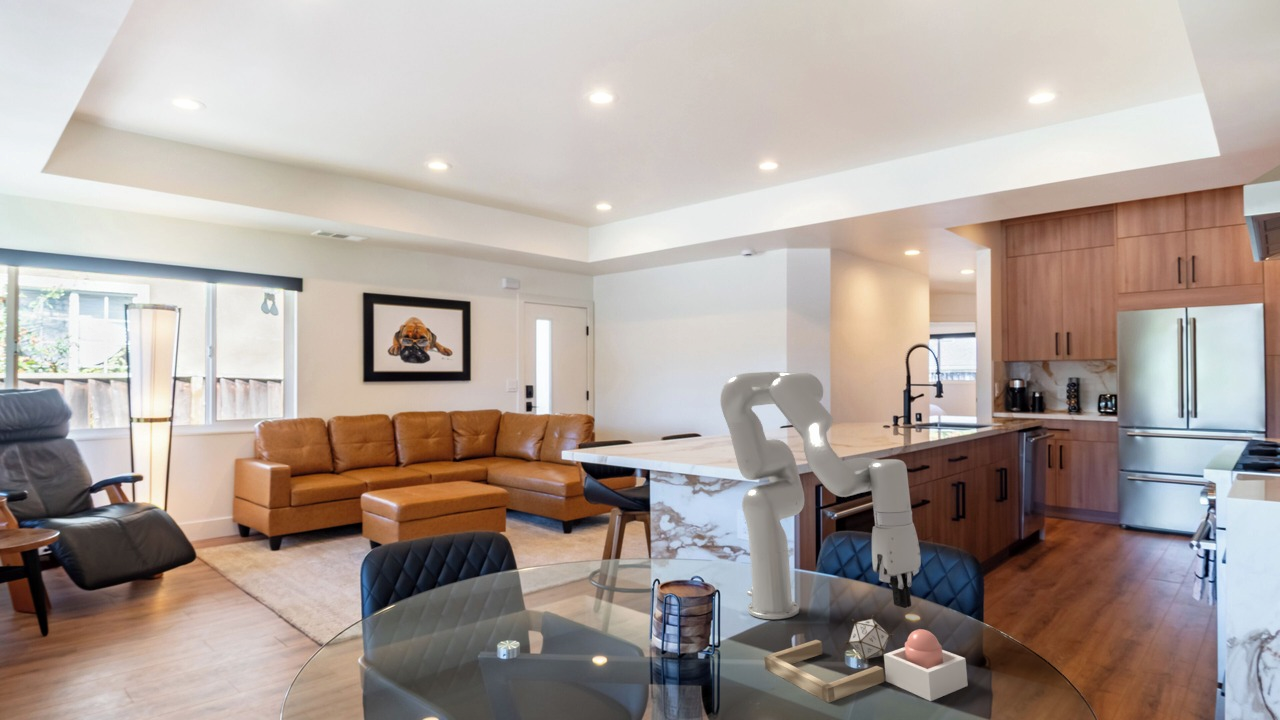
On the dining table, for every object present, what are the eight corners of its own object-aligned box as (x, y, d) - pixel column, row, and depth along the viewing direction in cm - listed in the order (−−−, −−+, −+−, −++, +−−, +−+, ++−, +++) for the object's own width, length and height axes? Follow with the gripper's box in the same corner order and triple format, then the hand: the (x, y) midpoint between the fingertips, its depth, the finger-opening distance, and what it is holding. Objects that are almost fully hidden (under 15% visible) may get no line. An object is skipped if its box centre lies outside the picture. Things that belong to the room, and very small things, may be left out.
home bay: (765, 668, 137) (764, 656, 137) (817, 651, 144) (816, 639, 144) (828, 702, 121) (827, 688, 121) (884, 681, 128) (883, 668, 128)
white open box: (886, 681, 128) (883, 654, 128) (922, 667, 133) (920, 641, 133) (930, 701, 119) (928, 672, 120) (967, 685, 124) (965, 658, 124)
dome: (898, 660, 128) (896, 629, 128) (921, 651, 131) (919, 621, 131) (927, 672, 122) (924, 639, 122) (950, 662, 125) (948, 631, 125)
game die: (881, 679, 137) (898, 650, 132) (839, 663, 139) (854, 634, 133) (882, 642, 144) (898, 613, 139) (842, 628, 146) (857, 599, 141)
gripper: (903, 510, 151) (912, 594, 150) (854, 522, 144) (863, 609, 143) (931, 514, 144) (941, 602, 143) (881, 526, 137) (891, 618, 136)
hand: (902, 605), depth 143 cm, fingers closed
